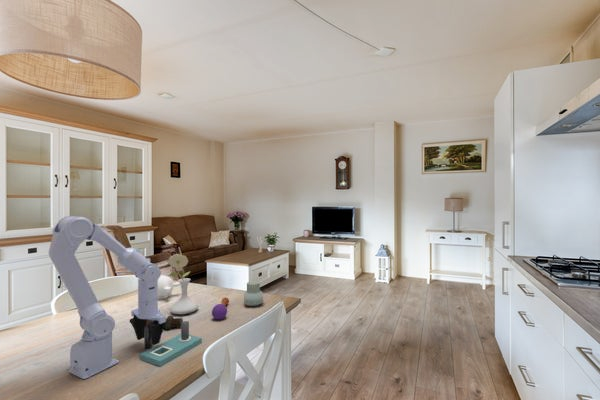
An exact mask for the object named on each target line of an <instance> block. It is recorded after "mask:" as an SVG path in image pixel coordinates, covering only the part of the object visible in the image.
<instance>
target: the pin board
mask: <svg viewBox="0 0 600 400" xmlns="http://www.w3.org/2000/svg"><path fill="white" fill-rule="evenodd" d="M189 328H190V322H189V321H188V320H186V321H184V320H183V322H182V323H181V327H180V329H181V330H180V333H179V334H178V335H176V336H174V337H171V338H170V339H168V340H166V341H163V342H162V343H160V344H159V343H158V344H156V346H155V345H154V346H152V348H149V349H146V351H143V352H141V353H139V359H140V360H141V361H144V362H147V363H148V364H149V363H150V364H153V365H154V366H157V367H162V366H164V365H165V364H167V363H169V362H171V361H173V360H174V359H176V358H178V357H180V356H181V355H183V354H184V353H186V352H188V351H190V350H191V349H193V348H195V347H197V346H198V345H200V344H202V342H203V338H202V337H198V336H195V335H193V334H190V329H189Z"/></svg>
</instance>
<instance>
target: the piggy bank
mask: <svg viewBox="0 0 600 400" xmlns="http://www.w3.org/2000/svg"><path fill="white" fill-rule="evenodd" d="M179 286H180V287H181V284H180V283H179V281H177V282H174V280H173V279H172V278H171V276H169V275H164V274H161V275H160V277H159V279H158V301H159V300H163V299H166V298H168V297H169V296H172V293H173V290H174V287H175V288H177V287H179Z"/></svg>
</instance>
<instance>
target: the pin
mask: <svg viewBox="0 0 600 400" xmlns="http://www.w3.org/2000/svg"><path fill="white" fill-rule="evenodd" d="M143 345H144V347H143V348H144V349H145V350H149V349H151V348H153V347H154V345H153V344H152V338H151V332H150V329H149V327H148V324H147V325H145V326H144V338H143Z"/></svg>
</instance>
